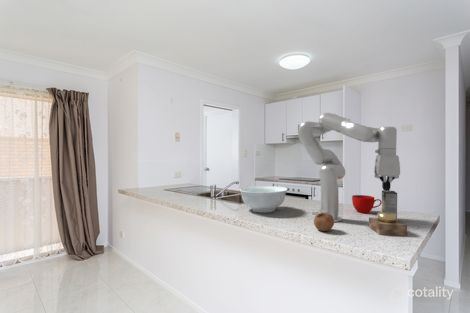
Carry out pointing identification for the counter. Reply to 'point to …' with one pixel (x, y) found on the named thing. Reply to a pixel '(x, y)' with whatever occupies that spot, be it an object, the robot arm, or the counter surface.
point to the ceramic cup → (364, 203)
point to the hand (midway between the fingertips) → (386, 190)
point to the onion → (323, 221)
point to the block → (388, 227)
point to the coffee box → (389, 202)
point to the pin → (386, 217)
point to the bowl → (263, 197)
